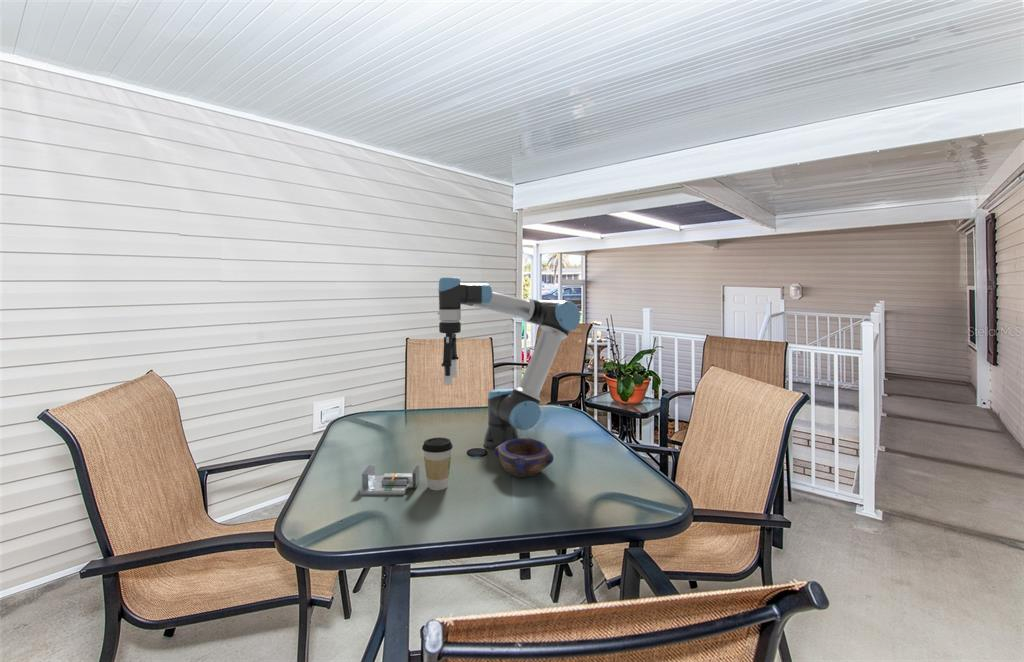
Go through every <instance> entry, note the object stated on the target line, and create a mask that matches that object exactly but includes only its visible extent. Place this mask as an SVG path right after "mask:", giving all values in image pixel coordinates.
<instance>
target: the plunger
mask: <svg viewBox="0 0 1024 662" xmlns="http://www.w3.org/2000/svg"><path fill="white" fill-rule="evenodd" d="M382 476H383V479H391V481H394V479H407V484H410V485H411V484H412V489H416V488H417V487H418V484H419V482H420V466H419V465H416V466H415V468H414V470H413V471H412V472H411V473H409V472H405V473H404V472H403V473H401V472H398V473H397V472H396V473H395V472H394V473H393V472H389V473H388V472H386V473H384V474H383V475H382Z"/></svg>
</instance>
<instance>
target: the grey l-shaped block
mask: <svg viewBox="0 0 1024 662" xmlns="http://www.w3.org/2000/svg"><path fill="white" fill-rule="evenodd" d="M375 467H376V466H375V465H368V466H367V467H366V468H365V469H364V471H363V472H362V473H361V484H362V485H361V488H360V489H359V496H362V495H363V496H365V495H371V496H372V495H373V496H374V495H378V496H380V495H382V496H383V495H385V496H386V495H388V496H389V495H394V496H395V495H398V496H399V495H406V493H407V491H408V489H409V487H410V485H411V484H407V479H394V481H391V479H383V475H376V469H375Z"/></svg>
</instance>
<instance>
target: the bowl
mask: <svg viewBox="0 0 1024 662" xmlns="http://www.w3.org/2000/svg"><path fill="white" fill-rule="evenodd" d="M494 454H495V456H496V458H497V459H498V461H500V463H501V464H500V465H501V466H502V467H503V468H504V470H505V471H506V472H507V473H509V474H510V475H512V476H513V477H518V478H524V477H525V478H526V477H532V476H535V475H537V474H538V473H541V471H543V470H544V469H545V468H547V467H548V466H549V465H551V464H552V463H554V455H553V453H552V452H551V451H550V449H549V447H548V446H547V444H546V443H544V442H542V441H540V440H538V439H534V438H530V437H528V438H527V437H523V438H522V437H520V439H512V440H508V441H506V442H504V443H502V444H501V445H499V446H497V447H496V448H495V449H494Z"/></svg>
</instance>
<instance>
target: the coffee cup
mask: <svg viewBox="0 0 1024 662" xmlns="http://www.w3.org/2000/svg"><path fill="white" fill-rule="evenodd" d="M421 447H422V448H421V449H422V451H423V460H424V461H423V462H424V469H425V474H426V478H427V486H428V489H429V490H431V491H442V490H445V489H446V488H448V485H449V476H450V472H451V471H450V470H451V469H450V468H451V459H452V449H453V447H454V446H453V443H452V441H451V439H450V438H446V437H432V438H428V439H426V440H424V442H423V444H422V446H421Z"/></svg>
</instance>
